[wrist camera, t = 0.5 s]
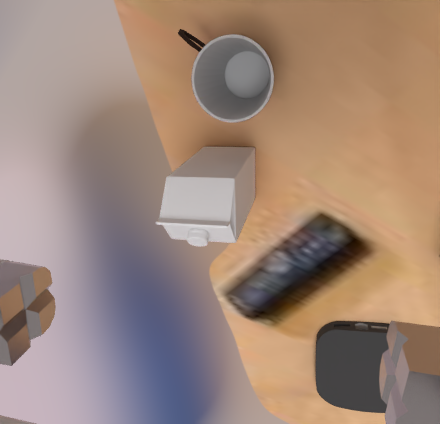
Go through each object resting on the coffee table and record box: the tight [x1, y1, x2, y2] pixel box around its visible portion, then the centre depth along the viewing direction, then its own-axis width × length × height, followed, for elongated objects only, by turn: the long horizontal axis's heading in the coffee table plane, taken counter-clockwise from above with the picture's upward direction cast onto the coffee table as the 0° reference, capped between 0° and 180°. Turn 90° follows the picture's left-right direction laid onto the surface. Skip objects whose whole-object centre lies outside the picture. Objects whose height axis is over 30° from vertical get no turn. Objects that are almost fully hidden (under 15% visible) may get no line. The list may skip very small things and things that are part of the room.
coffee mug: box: [178, 29, 274, 122], centre depth 46 cm, size 12×9×10 cm
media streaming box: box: [316, 321, 390, 413], centre depth 61 cm, size 15×15×3 cm
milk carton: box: [156, 147, 255, 246], centre depth 47 cm, size 7×7×19 cm
